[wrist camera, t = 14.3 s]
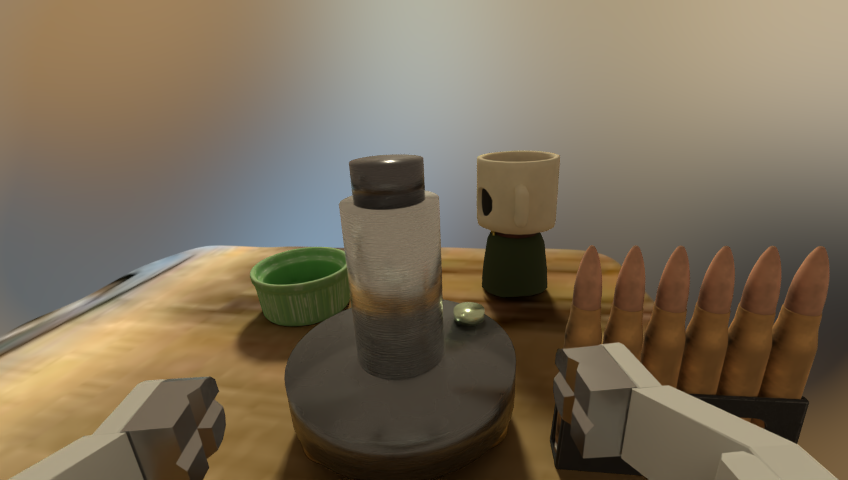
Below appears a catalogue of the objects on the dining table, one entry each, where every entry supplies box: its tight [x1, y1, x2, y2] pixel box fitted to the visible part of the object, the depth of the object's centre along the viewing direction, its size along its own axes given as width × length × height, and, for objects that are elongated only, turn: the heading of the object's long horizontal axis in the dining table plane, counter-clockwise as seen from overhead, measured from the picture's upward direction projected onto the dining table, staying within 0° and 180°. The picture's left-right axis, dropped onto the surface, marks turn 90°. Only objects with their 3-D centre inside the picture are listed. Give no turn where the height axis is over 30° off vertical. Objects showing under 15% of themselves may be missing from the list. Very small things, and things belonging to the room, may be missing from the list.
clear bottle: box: [339, 155, 444, 380], centre depth 21 cm, size 5×5×11 cm
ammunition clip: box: [550, 245, 829, 476], centre depth 19 cm, size 11×2×12 cm, turn 82°
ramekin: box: [250, 247, 350, 326], centre depth 38 cm, size 9×9×4 cm
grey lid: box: [284, 300, 516, 480], centre depth 24 cm, size 13×13×5 cm
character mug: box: [477, 151, 560, 297], centre depth 37 cm, size 11×7×13 cm, turn 172°
